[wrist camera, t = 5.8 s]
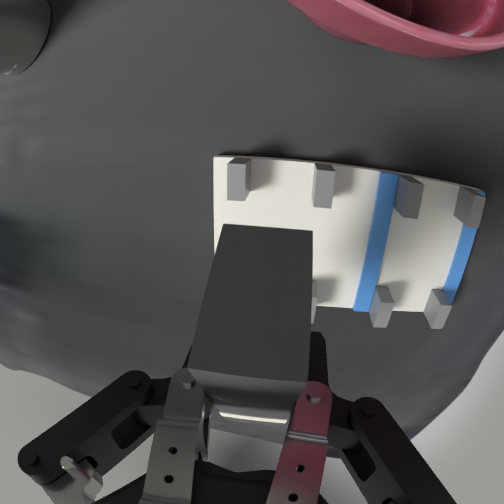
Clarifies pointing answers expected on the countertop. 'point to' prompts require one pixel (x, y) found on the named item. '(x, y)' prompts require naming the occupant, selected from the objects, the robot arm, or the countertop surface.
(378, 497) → the robot arm
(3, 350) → the countertop surface
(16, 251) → the countertop surface
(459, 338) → the countertop surface
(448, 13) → the plant pot
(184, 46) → the countertop surface
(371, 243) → the white pegged board
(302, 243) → the charcoal rectangular prism
